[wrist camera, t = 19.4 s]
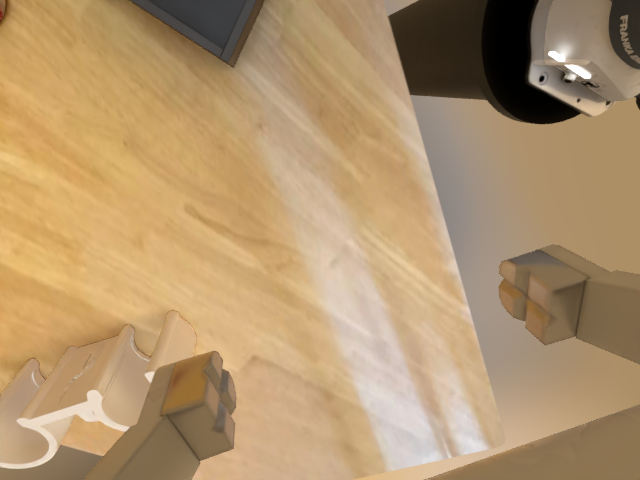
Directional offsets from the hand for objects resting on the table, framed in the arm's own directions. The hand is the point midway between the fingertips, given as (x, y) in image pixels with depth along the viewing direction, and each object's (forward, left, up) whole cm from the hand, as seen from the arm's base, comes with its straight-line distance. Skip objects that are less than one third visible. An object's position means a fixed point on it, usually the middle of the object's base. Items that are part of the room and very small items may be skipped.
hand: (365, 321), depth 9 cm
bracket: (+6, +42, -37) cm, 56 cm away
